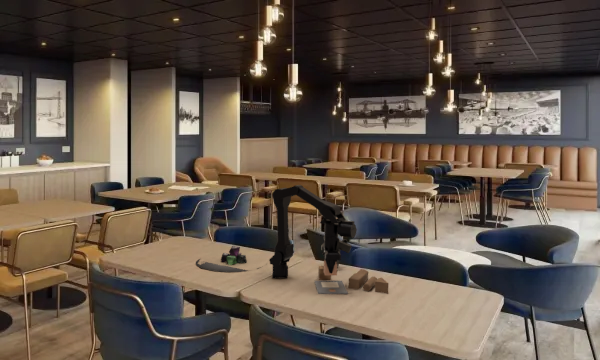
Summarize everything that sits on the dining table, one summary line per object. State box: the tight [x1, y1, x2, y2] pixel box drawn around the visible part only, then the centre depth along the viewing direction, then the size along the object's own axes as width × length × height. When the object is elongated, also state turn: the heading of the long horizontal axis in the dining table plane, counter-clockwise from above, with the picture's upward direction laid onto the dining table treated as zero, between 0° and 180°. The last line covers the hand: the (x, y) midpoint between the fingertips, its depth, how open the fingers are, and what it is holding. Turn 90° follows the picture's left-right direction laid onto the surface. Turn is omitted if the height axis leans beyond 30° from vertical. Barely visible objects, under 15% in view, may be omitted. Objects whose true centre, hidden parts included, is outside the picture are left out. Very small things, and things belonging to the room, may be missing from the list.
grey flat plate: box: [314, 280, 349, 295], centre depth 212 cm, size 12×16×1 cm
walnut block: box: [317, 265, 332, 281], centre depth 226 cm, size 5×5×5 cm
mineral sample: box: [195, 245, 262, 273], centre depth 249 cm, size 35×35×9 cm
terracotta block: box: [323, 260, 338, 276], centre depth 213 cm, size 5×5×5 cm
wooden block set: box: [347, 268, 389, 294], centre depth 216 cm, size 17×6×18 cm
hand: (330, 271), depth 213 cm, fingers closed on terracotta block, 5 cm apart
